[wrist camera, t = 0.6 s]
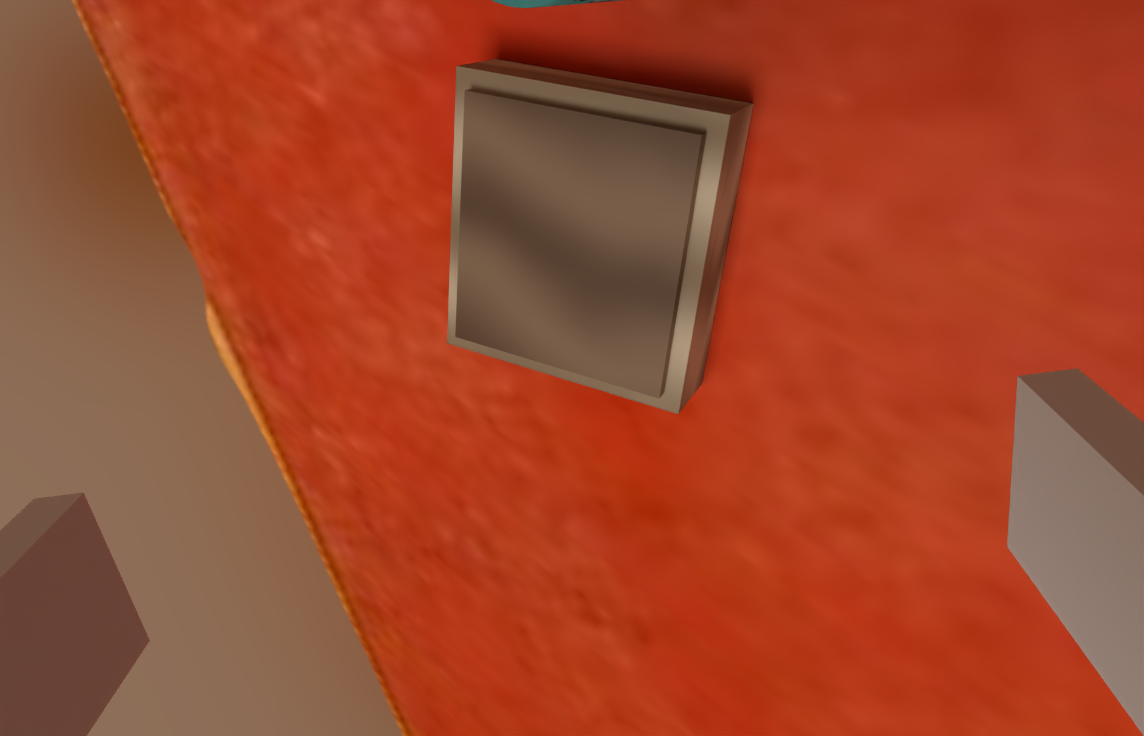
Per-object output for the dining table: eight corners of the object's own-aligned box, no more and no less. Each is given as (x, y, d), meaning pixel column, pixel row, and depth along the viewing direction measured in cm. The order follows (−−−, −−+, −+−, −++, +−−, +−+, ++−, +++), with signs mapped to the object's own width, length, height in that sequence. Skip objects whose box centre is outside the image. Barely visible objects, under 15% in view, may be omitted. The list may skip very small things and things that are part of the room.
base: (496, 59, 40) (448, 67, 36) (753, 103, 36) (725, 117, 32) (482, 320, 46) (440, 347, 42) (701, 384, 41) (673, 419, 38)
